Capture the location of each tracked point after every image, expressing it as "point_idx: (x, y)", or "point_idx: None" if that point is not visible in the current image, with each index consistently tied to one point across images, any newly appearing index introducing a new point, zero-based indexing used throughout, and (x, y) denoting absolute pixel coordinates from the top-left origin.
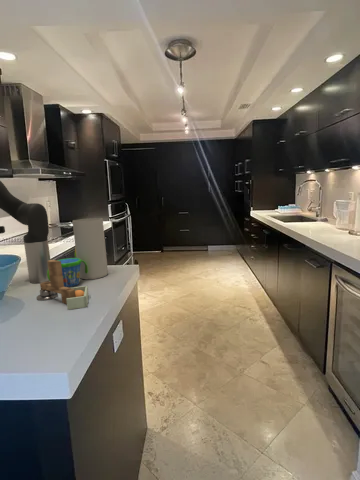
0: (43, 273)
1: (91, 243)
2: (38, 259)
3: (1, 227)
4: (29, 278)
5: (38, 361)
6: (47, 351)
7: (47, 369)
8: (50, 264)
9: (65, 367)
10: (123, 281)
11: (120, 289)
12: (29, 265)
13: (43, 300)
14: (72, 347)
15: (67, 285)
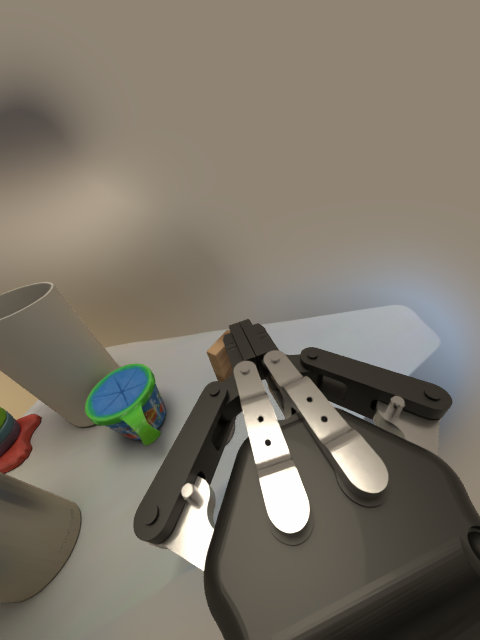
0: (62, 506)
1: (90, 334)
2: (24, 502)
3: (249, 323)
4: (36, 583)
5: (408, 326)
6: (388, 328)
7: (413, 314)
8: (224, 352)
9: (401, 306)
10: (168, 341)
11: (204, 334)
12: (11, 560)
13: (234, 424)
14: (370, 315)
15: (165, 411)
